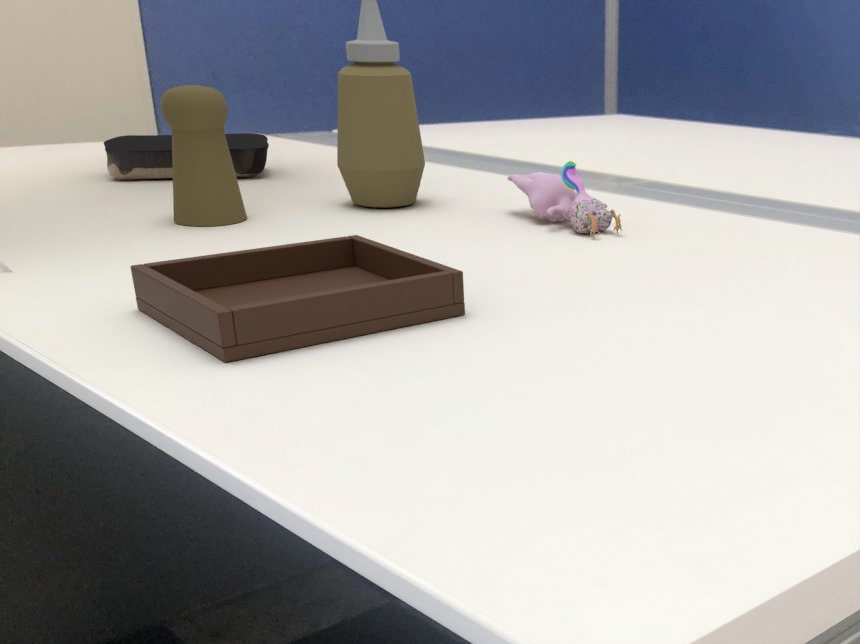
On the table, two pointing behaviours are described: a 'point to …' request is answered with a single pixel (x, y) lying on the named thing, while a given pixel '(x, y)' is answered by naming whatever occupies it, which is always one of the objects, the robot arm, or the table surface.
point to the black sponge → (155, 155)
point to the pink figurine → (565, 200)
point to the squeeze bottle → (377, 120)
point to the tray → (295, 294)
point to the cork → (201, 158)
